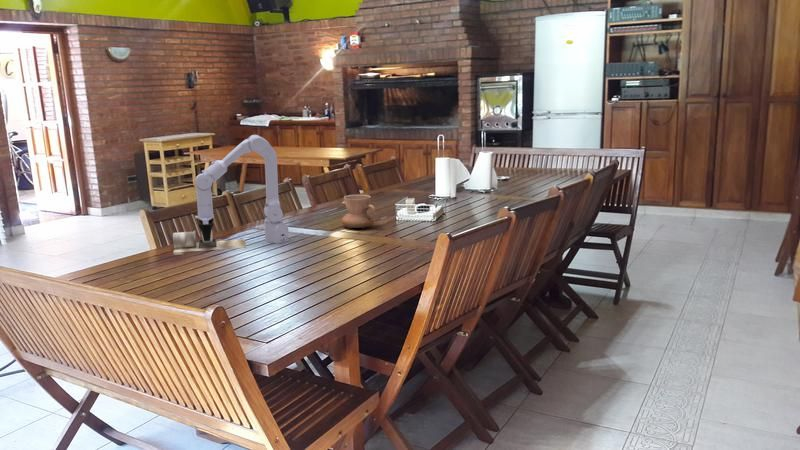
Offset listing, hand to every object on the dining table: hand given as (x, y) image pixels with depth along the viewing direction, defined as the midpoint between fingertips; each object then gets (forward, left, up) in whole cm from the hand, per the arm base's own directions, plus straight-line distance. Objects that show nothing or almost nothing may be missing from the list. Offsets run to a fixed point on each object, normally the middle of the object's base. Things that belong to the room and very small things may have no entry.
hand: (207, 238), depth 250 cm
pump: (0, 0, -3) cm, 3 cm away
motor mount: (-1, -2, -4) cm, 4 cm away
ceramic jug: (-21, -65, -4) cm, 68 cm away
